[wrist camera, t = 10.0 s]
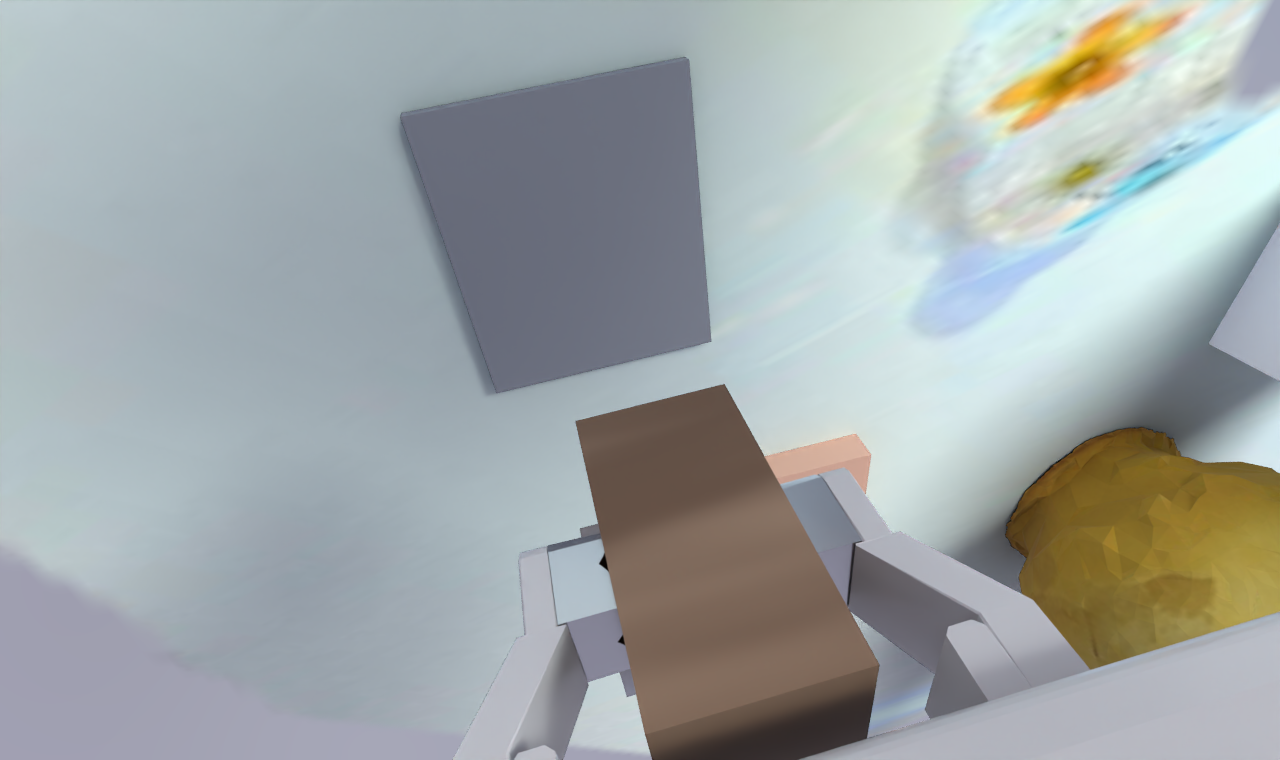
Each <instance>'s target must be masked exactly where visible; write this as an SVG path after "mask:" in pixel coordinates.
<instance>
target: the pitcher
mask: <svg viewBox="0 0 1280 760" xmlns="http://www.w3.org/2000/svg"><path fill="white" fill-rule="evenodd" d="M1053 466H1054V467H1051V468H1050V469H1051V470H1049V471H1047V472H1046V473H1045V474H1044V476H1041V479H1039V480H1038V481H1037V483H1036V484H1033V485H1032V486H1031V487H1030V488H1029V489H1028V490H1026V491H1025V493H1024V495H1023V497H1022V498H1021V499H1022V500H1020V501H1019V503H1018V506H1017V508H1018V509H1016V512H1015V513H1013V516H1012V517H1011V520H1012V521H1010V522H1009V523H1007V525H1006V526H1008V529H1006V530H1007V531H1006V534H1005V535H1006V538H1008V539H1009V541H1010V543H1011V544H1012V545H1011V546H1012V547H1013V548H1015V549H1017V550H1018V551H1019V552H1020V553H1021V554H1022V555H1023V556H1025V557H1026V558H1027V559H1026V561H1025V563H1024V566H1023V568H1022V570H1021V572H1020V574H1019V581H1020V587H1021V592H1022V594H1023V595H1025V596H1027V597H1028V598H1030V599H1032V600H1034V602H1035V603H1036V604H1037V605H1038V607H1039V608H1040V609H1041V610H1042V611H1043V613H1044V614H1045V615H1046V616H1047V617H1048V619H1049V620H1050V621H1051V622H1052V624H1053V625H1054V626H1055V627H1056V628H1057V630H1058V631H1059V632H1060V633H1061V635H1062V636H1063V637H1064V638H1065V639H1066V641H1067V642H1068V643H1069V644H1070V645H1071V647H1072V648H1073V649H1074V650H1075V652H1076V653H1077V654H1078V655H1079V656H1080V658H1081V659H1082V660H1083V661H1084V662H1085V664H1086V665H1087V666H1088V667H1089V669H1090V670H1092V669H1095V668H1098V667H1101V666H1105V665H1108V664H1111V663H1114V662H1118V661H1121V660H1124V659H1127V658H1131V657H1134V656H1137V655H1140V654H1144V653H1147V652H1150V651H1153V650H1157V649H1160V648H1163V647H1166V646H1170V645H1173V644H1176V643H1179V642H1183V641H1186V640H1189V639H1192V638H1196V637H1199V636H1202V635H1205V634H1209V633H1212V632H1215V631H1218V630H1222V629H1225V628H1228V627H1231V626H1235V625H1238V624H1241V623H1245V622H1248V621H1251V620H1254V619H1258V618H1261V617H1264V616H1267V615H1271V614H1274V613H1277V612H1280V473H1277V472H1276V471H1275V470H1273V469H1272V468H1268V467H1263V466H1258V465H1253V464H1249V463H1244V462H1217V463H1203V462H1200V461H1197V460H1194V459H1191V458H1187V457H1181V454H1180V451H1178V450H1177V447H1176V444H1175V443H1174V439H1173V438H1172V439H1170V438H1169V437H1166V433H1165V432H1164V433H1162V432H1161V434H1160V433H1159V432H1157V431H1156V433H1154V432H1153V430H1150V429H1149V430H1147V429H1145V428H1143V427H1140V428H1138V429H1136V428H1127V429H1123V430H1122V429H1120V430H1116V431H1114V432H1112V433H1111V432H1110V433H1108V434H1104V435H1102V436H1097V437H1095V438H1093V439H1089V440H1088V441H1085V443H1083V444H1081V445H1079V446H1077V447H1076V448H1075V449H1074V450H1073V453H1069V455H1068V456H1067V457H1065V458H1063V459H1062V460H1060V461H1059V462H1058V463H1056V464H1054V465H1053Z"/></svg>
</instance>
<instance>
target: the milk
mask: <svg viewBox="0 0 1280 760" xmlns="http://www.w3.org/2000/svg"><path fill="white" fill-rule="evenodd" d="M1208 344H1210V345H1212V346H1214V347H1216V348H1217V349H1219V350H1221V351H1223V352H1225V353H1227V354H1229V355H1231V356H1233V357H1235V358H1236V359H1238V360H1240V361H1242V362H1244V363H1246V364H1248V365H1250V366H1252V367H1253V368H1255V369H1257V370H1259V371H1261V372H1263V373H1265V374H1267V375H1269V376H1270V377H1272V378H1274V379H1276V380H1278V381H1280V224H1279V225H1278V227H1277V229H1276V230H1275V232H1274V234H1273V235H1272V237H1271V239H1270V241H1269V242H1268V244H1267V246H1266V247H1265V249H1264V251H1263V252H1262V254H1261V256H1260V257H1259V259H1258V261H1257V262H1256V264H1255V266H1254V268H1253V269H1252V271H1251V273H1250V274H1249V276H1248V278H1247V279H1246V281H1245V283H1244V284H1243V286H1242V288H1241V289H1240V291H1239V293H1238V295H1237V296H1236V298H1235V300H1234V301H1233V303H1232V305H1231V306H1230V308H1229V310H1228V311H1227V313H1226V315H1225V316H1224V318H1223V320H1222V322H1221V323H1220V325H1219V327H1218V328H1217V330H1216V332H1215V333H1214V335H1213V337H1212V338H1211V340H1210V342H1209V343H1208Z"/></svg>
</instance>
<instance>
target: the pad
mask: <svg viewBox="0 0 1280 760" xmlns="http://www.w3.org/2000/svg"><path fill="white" fill-rule="evenodd" d="M400 118H401V121H402V124H403V127H404V129H405V132H406V135H407V138H408V141H409V144H410V147H411V150H412V152H413V155H414V158H415V161H416V164H417V167H418V170H419V172H420V175H421V178H422V181H423V184H424V187H425V190H426V192H427V195H428V198H429V201H430V204H431V207H432V210H433V212H434V215H435V218H436V221H437V224H438V227H439V230H440V233H441V235H442V238H443V241H444V244H445V247H446V250H447V253H448V255H449V258H450V261H451V264H452V267H453V270H454V273H455V275H456V278H457V281H458V284H459V287H460V290H461V293H462V295H463V298H464V301H465V304H466V307H467V310H468V313H469V316H470V318H471V321H472V324H473V327H474V330H475V333H476V336H477V338H478V341H479V344H480V347H481V350H482V353H483V356H484V358H485V361H486V364H487V367H488V370H489V373H490V376H491V378H492V381H493V384H494V387H495V390H496V393H500V392H504V391H508V390H512V389H517V388H521V387H525V386H529V385H533V384H537V383H542V382H546V381H550V380H554V379H558V378H562V377H566V376H571V375H575V374H579V373H583V372H587V371H591V370H596V369H600V368H604V367H608V366H612V365H616V364H621V363H625V362H629V361H633V360H637V359H641V358H645V357H650V356H654V355H658V354H662V353H666V352H670V351H675V350H679V349H683V348H687V347H691V346H695V345H700V344H704V343H708V342H711V331H710V318H709V305H708V293H707V280H706V268H705V255H704V242H703V230H702V217H701V204H700V192H699V179H698V166H697V154H696V141H695V129H694V116H693V103H692V91H691V78H690V65H689V59H687V58H686V57H683V58H678V59H673V60H668V61H663V62H657V63H652V64H647V65H642V66H637V67H632V68H627V69H622V70H617V71H612V72H607V73H602V74H597V75H592V76H587V77H582V78H577V79H572V80H567V81H562V82H557V83H552V84H547V85H541V86H536V87H531V88H526V89H521V90H516V91H511V92H506V93H501V94H496V95H491V96H486V97H481V98H476V99H471V100H466V101H461V102H456V103H451V104H446V105H441V106H436V107H431V108H426V109H420V110H415V111H410V112H405V113H401V116H400Z"/></svg>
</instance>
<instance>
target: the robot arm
mask: <svg viewBox="0 0 1280 760" xmlns="http://www.w3.org/2000/svg"><path fill="white" fill-rule="evenodd" d="M780 486H781V487H782V489H783V491H784V493H785V495H786V496H787V498H788V500H789V502H790V504H791V505H792V507H793V509H794V511H795V513H796V515H797V516H798V518H799V520H800V522H801V524H802V525H803V527H804V529H805V531H806V533H807V534H808V536H809V538H810V540H811V542H812V543H813V545H814V547H815V549H816V551H817V553H818V554H819V556H820V558H821V560H822V562H823V563H824V565H825V567H826V569H827V571H828V572H829V574H830V576H831V578H832V580H833V582H834V583H835V585H836V587H837V589H838V591H839V592H840V594H841V596H842V598H843V600H844V601H845V603H846V605H847V607H849V608H848V609H849V610H850V611H851V612H852V613H853V614H855V615H856V616H857V617H859V618H860V619H861V620H863V621H864V622H865V623H867V624H868V625H869V626H871V627H872V628H873V629H875V630H876V631H877V632H879V633H880V634H881V635H883V636H884V637H885V638H887V639H888V640H889V641H891V642H892V643H893V644H895V645H896V646H897V647H899V648H900V649H902V650H903V651H904V652H906V653H907V654H908V655H910V656H911V657H912V658H914V659H915V660H916V661H918V662H919V663H920V664H922V665H923V666H924V667H926V668H927V669H928V670H930V671H931V672H932V673H934V674H935V676H934V679H933V683H932V686H931V690H930V693H929V697H928V700H927V704H926V707H925V711H926V712H927V714H928V716H929V718H930V719H929V720H926V721H922V722H919V723H916V724H913V725H909V726H906V727H903V728H900V729H896V730H893V731H890V732H887V733H883V734H880V735H877V736H874V737H870V738H867V739H864V740H861V741H857V742H854V743H851V744H848V745H844V746H841V747H838V748H835V749H831V750H828V751H825V752H822V753H818V754H815V755H812V756H809V757H805V758H802V759H799V760H1280V612H1277V613H1274V614H1271V615H1267V616H1264V617H1261V618H1258V619H1254V620H1251V621H1248V622H1245V623H1241V624H1238V625H1235V626H1231V627H1228V628H1225V629H1222V630H1218V631H1215V632H1212V633H1209V634H1205V635H1202V636H1199V637H1196V638H1192V639H1189V640H1186V641H1183V642H1179V643H1176V644H1173V645H1170V646H1166V647H1163V648H1160V649H1157V650H1153V651H1150V652H1147V653H1144V654H1140V655H1137V656H1134V657H1131V658H1127V659H1124V660H1121V661H1118V662H1114V663H1111V664H1108V665H1105V666H1101V667H1098V668H1095V669H1092V670H1090V669H1089V667H1088V666H1087V665H1086V664H1085V662H1084V661H1083V660H1082V659H1081V658H1080V656H1079V655H1078V654H1077V653H1076V652H1075V650H1074V649H1073V648H1072V647H1071V645H1070V644H1069V643H1068V642H1067V641H1066V639H1065V638H1064V637H1063V636H1062V635H1061V633H1060V632H1059V631H1058V630H1057V628H1056V627H1055V626H1054V625H1053V624H1052V622H1051V621H1050V620H1049V619H1048V617H1047V616H1046V615H1045V614H1044V613H1043V611H1042V610H1041V609H1040V608H1039V607H1038V605H1037V604H1036V603H1035V602H1034V600H1032V599H1030V598H1028V597H1027V596H1025V595H1023V594H1021V593H1019V592H1017V591H1015V590H1013V589H1011V588H1009V587H1007V586H1005V585H1003V584H1001V583H999V582H997V581H996V580H994V579H992V578H990V577H988V576H986V575H984V574H982V573H980V572H978V571H976V570H974V569H972V568H970V567H968V566H966V565H965V564H963V563H961V562H959V561H957V560H955V559H953V558H951V557H949V556H947V555H945V554H943V553H941V552H939V551H937V550H935V549H933V548H932V547H930V546H928V545H926V544H924V543H922V542H920V541H918V540H916V539H914V538H912V537H910V536H908V535H906V534H904V533H902V532H901V531H900V532H896V533H892V532H891V530H890V529H889V527H888V526H887V525H886V523H885V522H884V520H883V519H882V517H881V516H880V514H879V513H878V512H877V510H876V509H875V507H874V506H873V504H872V503H871V502H870V500H869V499H868V497H867V496H866V494H865V493H864V491H863V490H862V489H861V487H860V486H859V484H858V483H857V481H856V480H855V479H854V477H853V476H852V474H851V473H850V471H849V470H847V469H846V468H844V467H843V468H840V469H836V470H832V471H828V472H824V473H821V474H818V475H811V476H808V477H804V478H801V479H797V480H793V481H790V482H786V483H783V484H780ZM518 564H519V575H520V587H521V599H522V611H523V622H524V634H525V635H524V636H521V637H518V638H516V640H515V641H514V643H513V645H512V647H511V649H510V651H509V653H508V655H507V657H506V659H505V661H504V662H503V664H502V666H501V668H500V670H499V672H498V674H497V676H496V678H495V680H494V682H493V683H492V685H491V687H490V689H489V691H488V693H487V695H486V697H485V699H484V701H483V703H482V704H481V706H480V708H479V710H478V712H477V714H476V716H475V718H474V720H473V722H472V724H471V725H470V727H469V729H468V731H467V733H466V735H465V737H464V739H463V741H462V743H461V745H460V747H459V748H458V750H457V752H456V755H455V756H454V758H453V760H563V758H564V755H565V753H566V750H567V747H568V744H569V741H570V738H571V735H572V732H573V729H574V726H575V723H576V720H577V718H578V715H579V712H580V709H581V706H582V703H583V700H584V697H585V694H586V691H587V688H588V682H590V681H593V680H596V679H599V678H602V677H606V676H609V675H612V674H615V673H618V672H621V671H625V670H628V669H630V664H629V660H628V655H627V651H626V646H625V642H624V637H623V633H622V628H621V624H620V619H619V615H618V610H617V606H616V601H615V597H614V592H613V588H612V583H611V579H610V574H609V570H608V565H607V561H606V556H605V552H604V547H603V543H602V538H601V534H600V533H599V534H595V535H590V536H586V537H582V538H578V539H574V540H569V541H565V542H561V543H557V544H553V545H548V546H545V547H541V548H537V549H533V550H529V551H525V552H521V553H520V554H519V560H518Z"/></svg>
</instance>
